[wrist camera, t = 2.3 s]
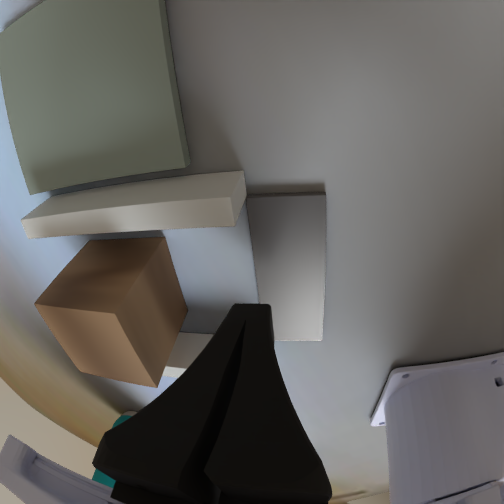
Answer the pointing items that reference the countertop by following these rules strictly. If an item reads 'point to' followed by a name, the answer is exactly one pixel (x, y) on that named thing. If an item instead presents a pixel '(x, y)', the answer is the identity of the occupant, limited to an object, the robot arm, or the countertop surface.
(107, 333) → the block
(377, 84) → the countertop surface
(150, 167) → the coaster
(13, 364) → the countertop surface
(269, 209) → the white u-shaped frame
